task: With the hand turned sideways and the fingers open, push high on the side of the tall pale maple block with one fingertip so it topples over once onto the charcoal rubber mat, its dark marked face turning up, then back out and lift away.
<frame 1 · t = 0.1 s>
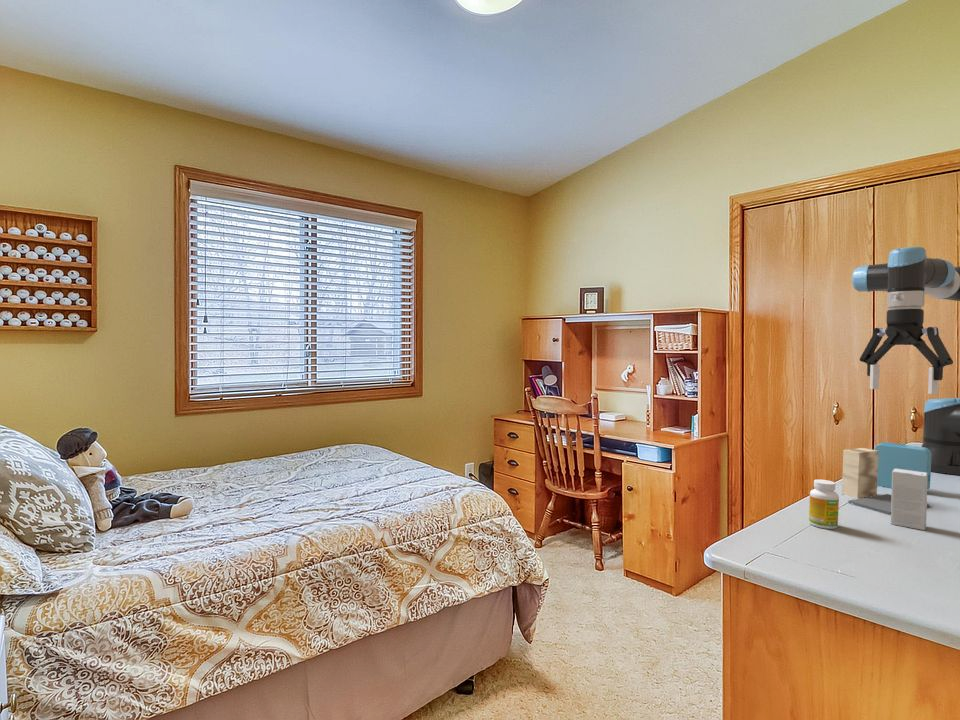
hand: (902, 391, 139), 28 cm above the dresser top, tool pointing down, fingers open, 13 cm apart
charcoal mat: (888, 504, 134), on the dresser top
skincare box: (907, 526, 120), on the dresser top
supplement bottle: (822, 526, 119), on the dresser top
maple block: (859, 495, 143), on the dresser top
data package: (900, 489, 150), on the dresser top
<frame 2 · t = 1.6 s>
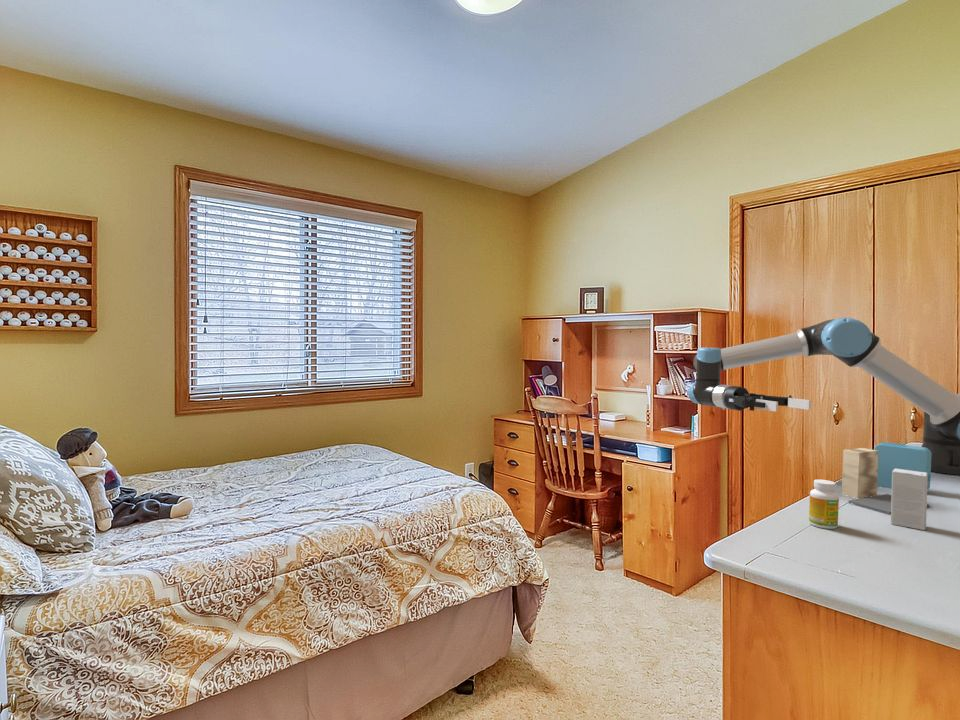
hand: (793, 405, 152), 22 cm above the dresser top, tool horizontal, fingers open, 13 cm apart
nothing on the dresser top moved.
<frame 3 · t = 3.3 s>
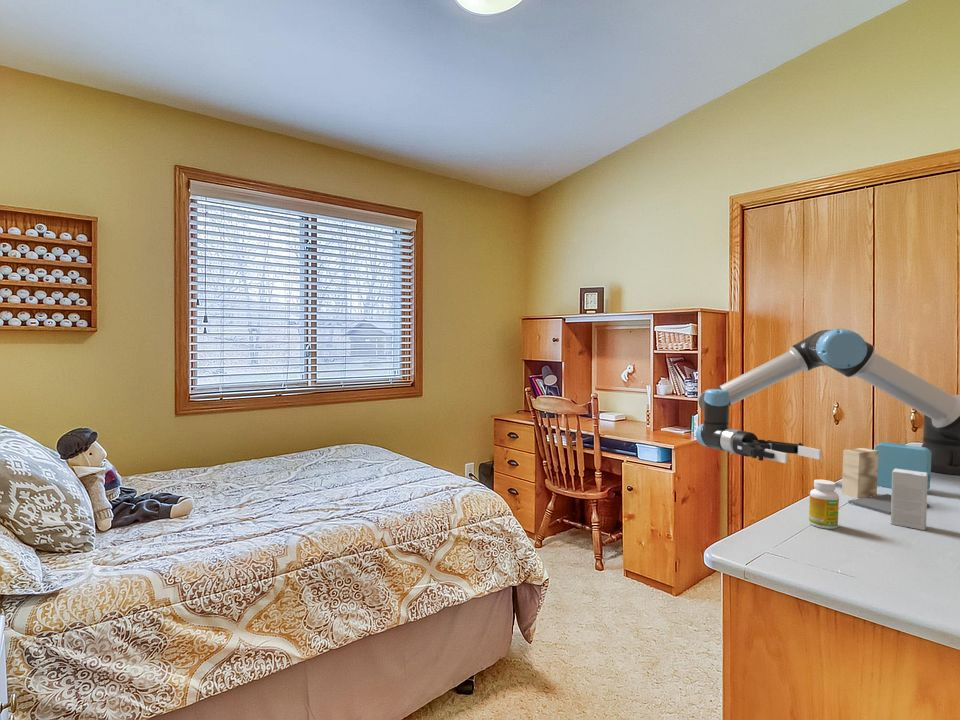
hand: (803, 456, 149), 9 cm above the dresser top, tool horizontal, fingers open, 13 cm apart
nothing on the dresser top moved.
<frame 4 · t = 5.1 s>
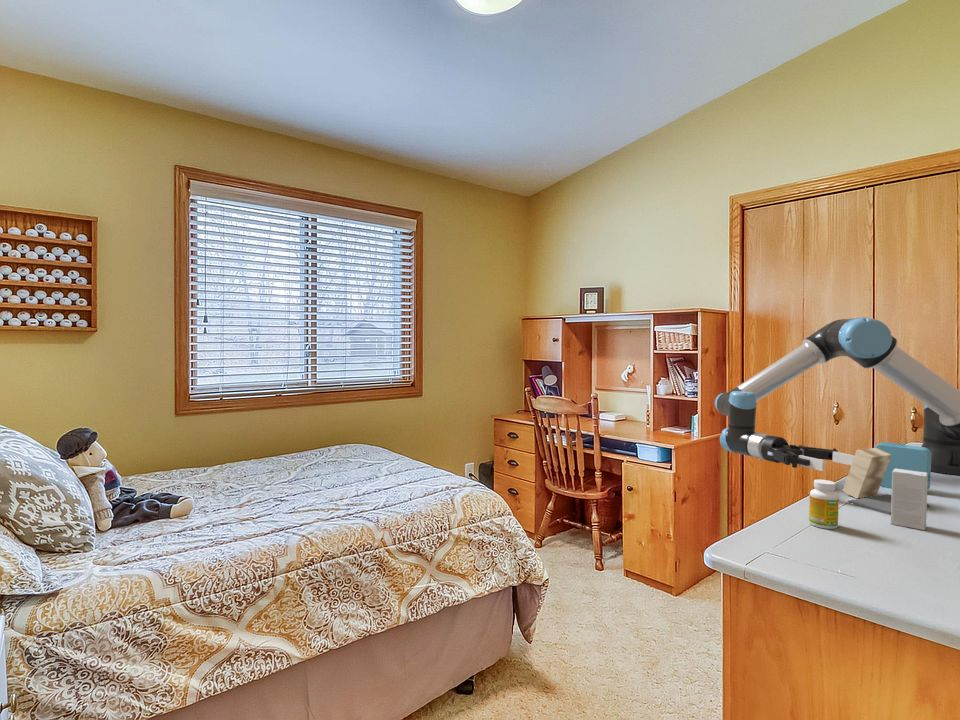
hand: (841, 463, 140), 9 cm above the dresser top, tool horizontal, fingers open, 13 cm apart
maple block: (859, 493, 142), on the dresser top, tilted 15°
everything else where it was.
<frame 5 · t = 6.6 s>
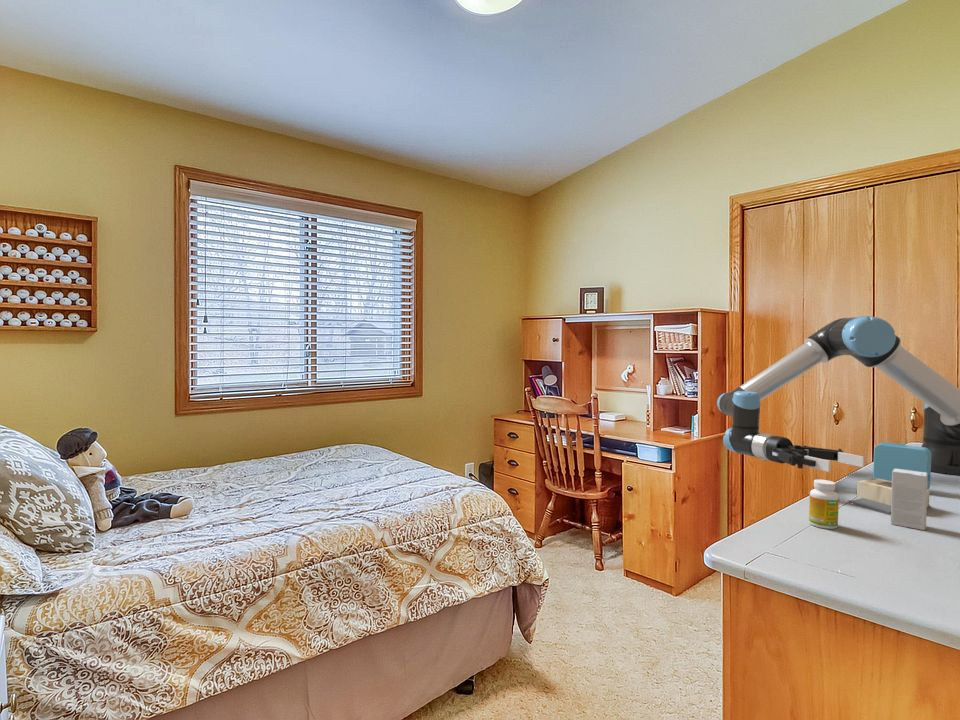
hand: (847, 464, 139), 9 cm above the dresser top, tool horizontal, fingers open, 13 cm apart
maple block: (867, 487, 141), point 3 cm above the dresser top, tilted 90°, touching charcoal mat
everything else where it was.
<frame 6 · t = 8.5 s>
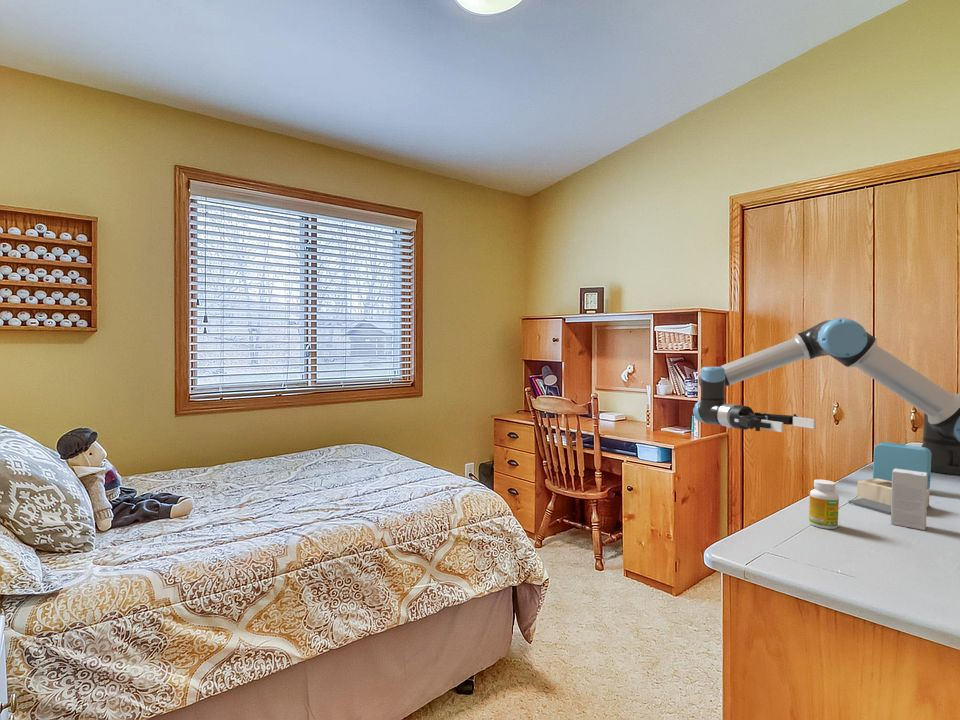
hand: (798, 425, 154), 16 cm above the dresser top, tool horizontal, fingers open, 13 cm apart
nothing on the dresser top moved.
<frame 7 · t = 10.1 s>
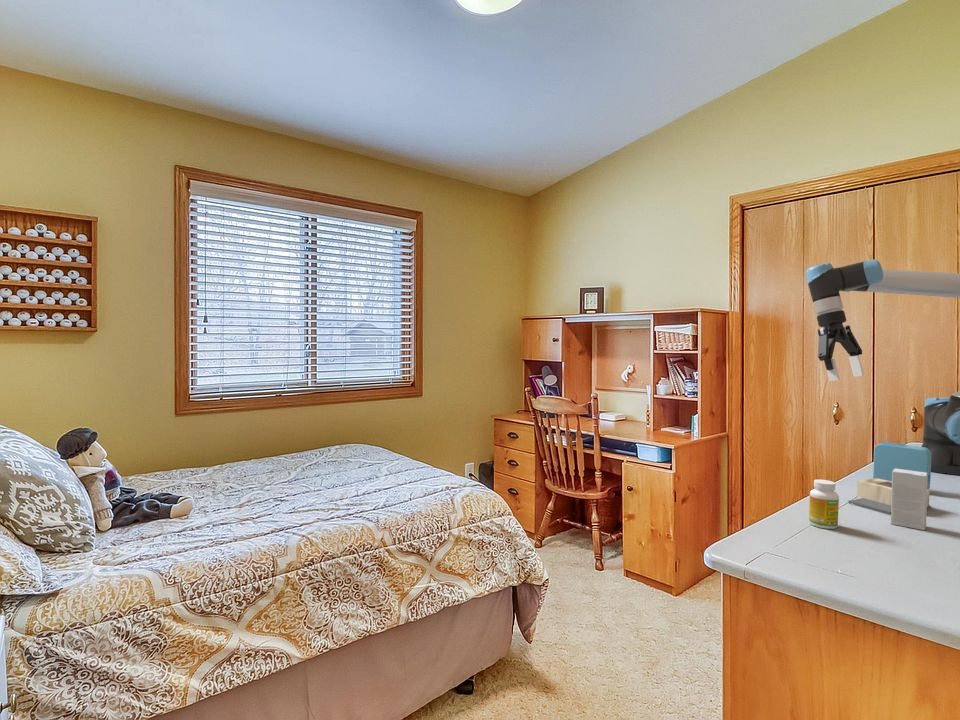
hand: (846, 378, 168), 29 cm above the dresser top, tool pointing down, fingers open, 13 cm apart
nothing on the dresser top moved.
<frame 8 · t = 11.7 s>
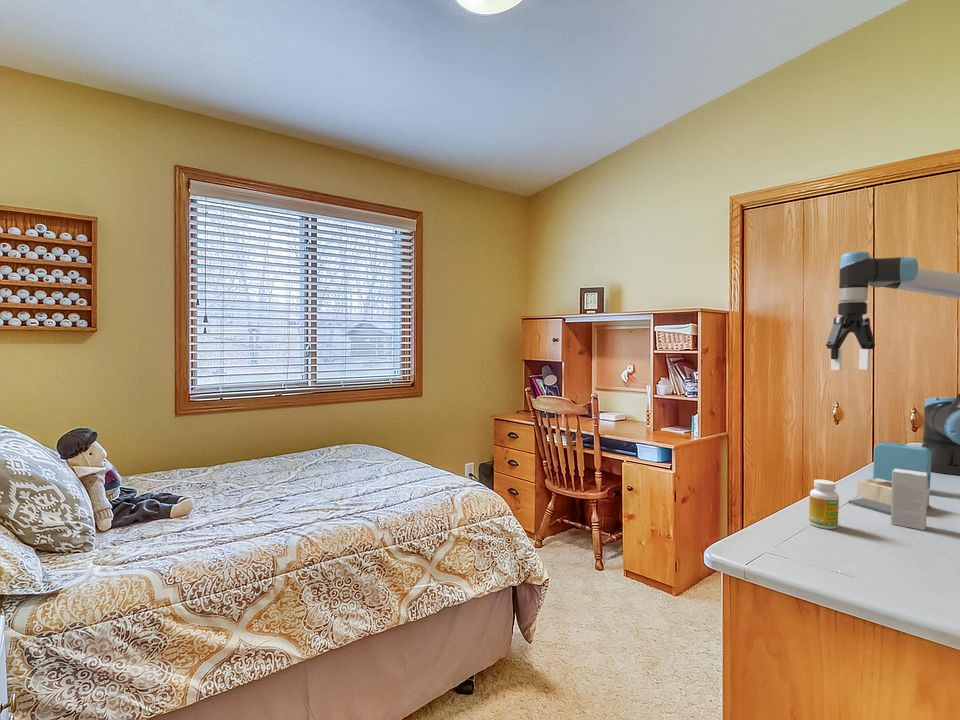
hand: (850, 369, 170), 32 cm above the dresser top, tool pointing down, fingers open, 13 cm apart
nothing on the dresser top moved.
at the end: maple block tilted 90°; maple block touching charcoal mat; maple block inside the target area (3.3 cm from its centre), point 2.6 cm above the dresser top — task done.
